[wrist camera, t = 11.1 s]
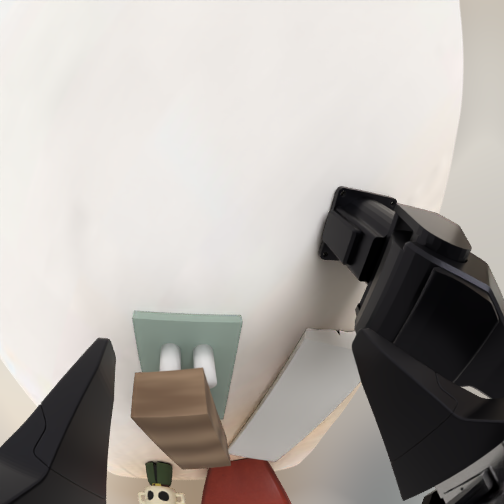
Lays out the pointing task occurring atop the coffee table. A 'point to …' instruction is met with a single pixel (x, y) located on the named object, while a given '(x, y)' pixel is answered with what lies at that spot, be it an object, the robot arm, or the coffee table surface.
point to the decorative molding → (300, 395)
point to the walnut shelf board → (180, 417)
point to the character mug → (160, 486)
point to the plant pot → (244, 484)
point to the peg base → (190, 346)
